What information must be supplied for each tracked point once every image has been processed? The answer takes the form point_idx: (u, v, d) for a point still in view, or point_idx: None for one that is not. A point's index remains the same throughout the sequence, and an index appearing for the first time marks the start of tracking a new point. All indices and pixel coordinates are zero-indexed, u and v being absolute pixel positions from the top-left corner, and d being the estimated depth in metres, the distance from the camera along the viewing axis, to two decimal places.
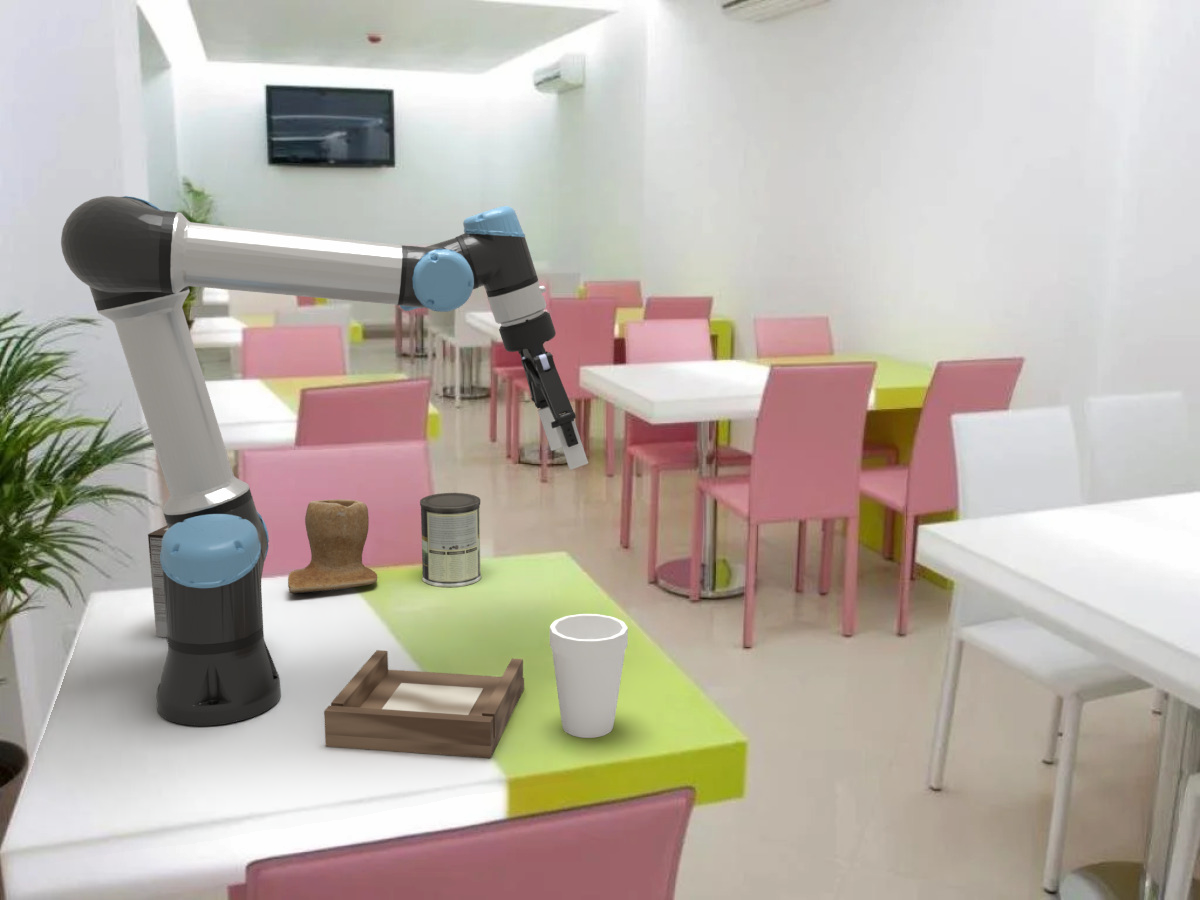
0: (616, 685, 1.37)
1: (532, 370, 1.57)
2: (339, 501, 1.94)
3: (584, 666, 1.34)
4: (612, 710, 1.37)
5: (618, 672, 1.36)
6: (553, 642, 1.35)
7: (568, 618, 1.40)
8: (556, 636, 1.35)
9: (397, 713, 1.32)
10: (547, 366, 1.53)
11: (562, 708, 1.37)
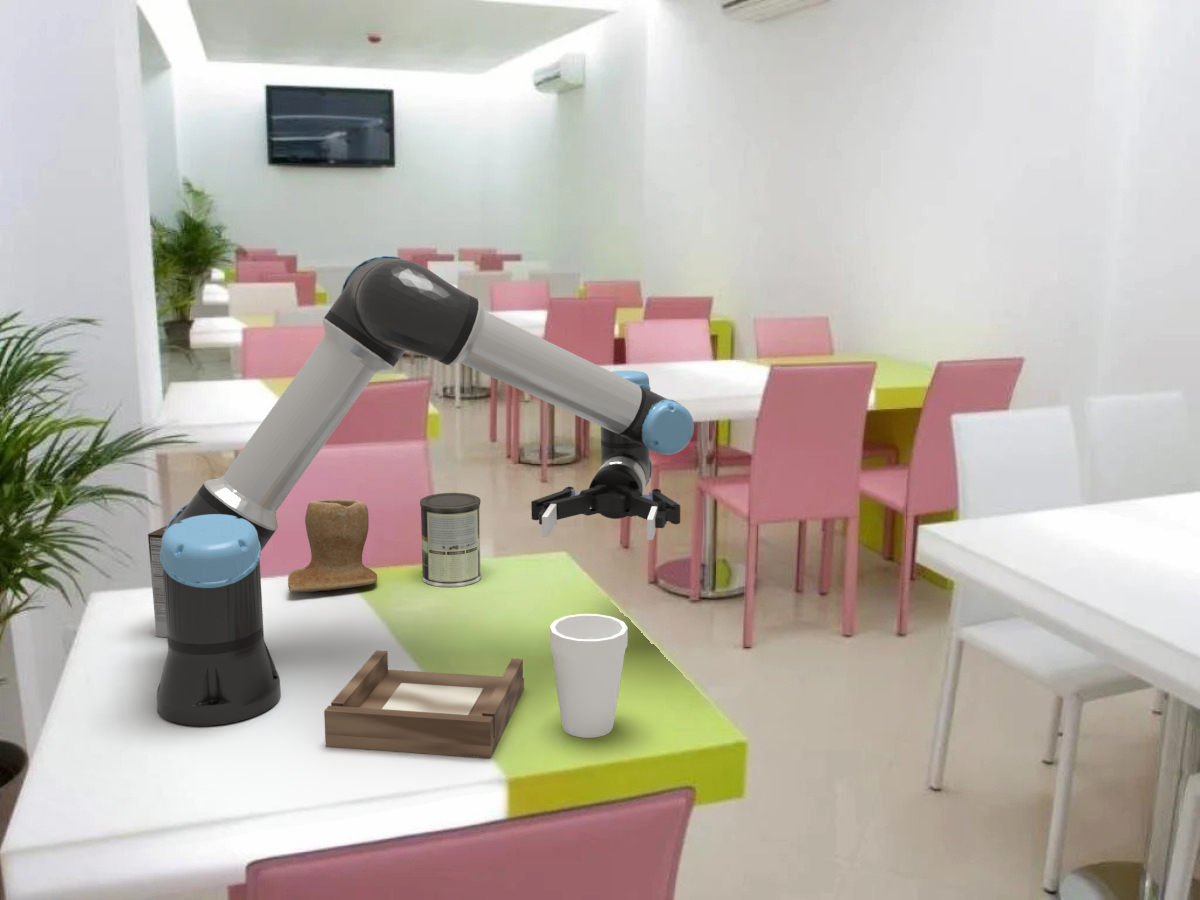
0: (616, 685, 1.37)
1: None
2: (339, 501, 1.94)
3: (584, 666, 1.34)
4: (612, 710, 1.37)
5: (618, 672, 1.36)
6: (553, 642, 1.35)
7: (568, 618, 1.40)
8: (556, 636, 1.35)
9: (397, 713, 1.32)
10: None
11: (562, 708, 1.37)
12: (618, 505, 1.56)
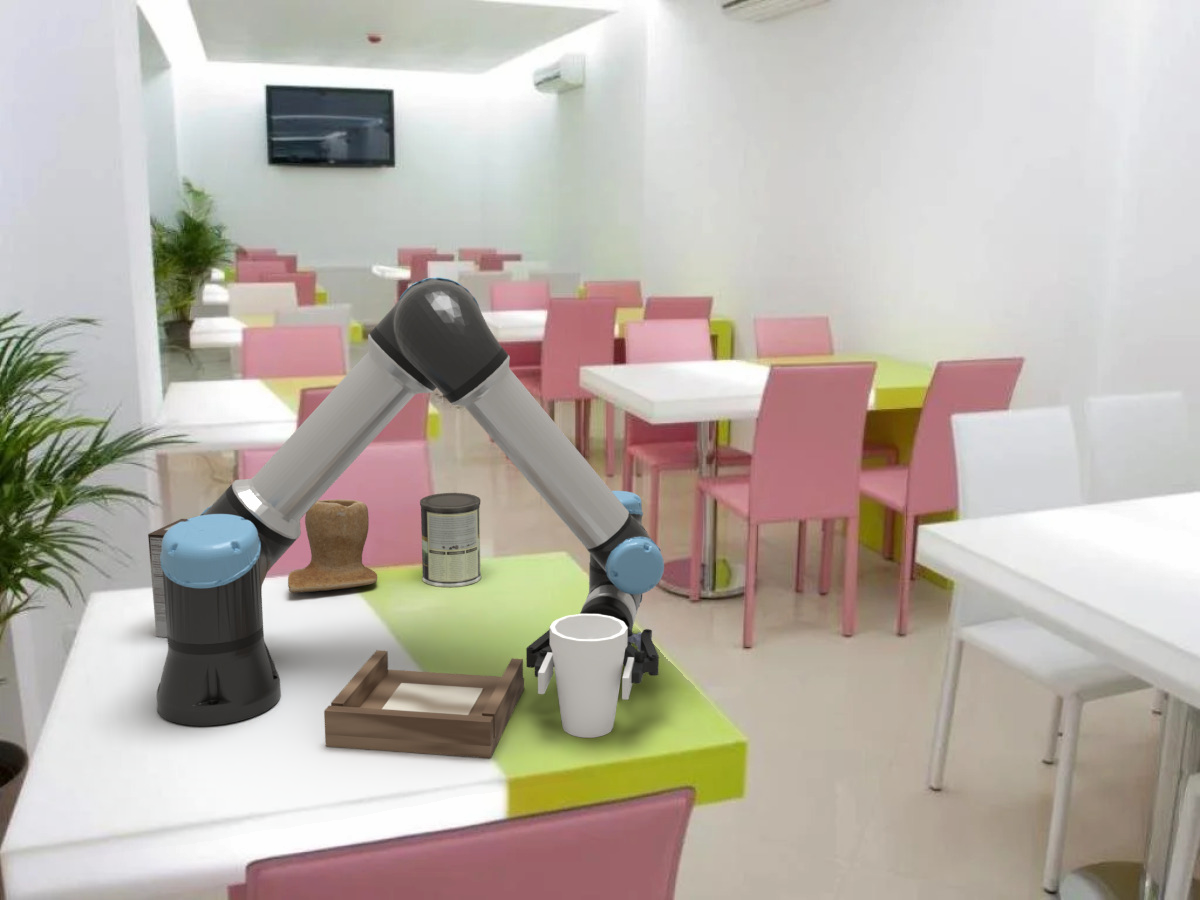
0: (616, 685, 1.37)
1: None
2: (339, 501, 1.94)
3: (584, 666, 1.34)
4: (612, 710, 1.37)
5: (618, 672, 1.36)
6: (553, 642, 1.35)
7: (567, 617, 1.40)
8: (556, 636, 1.35)
9: (397, 713, 1.32)
10: None
11: (562, 708, 1.37)
12: None
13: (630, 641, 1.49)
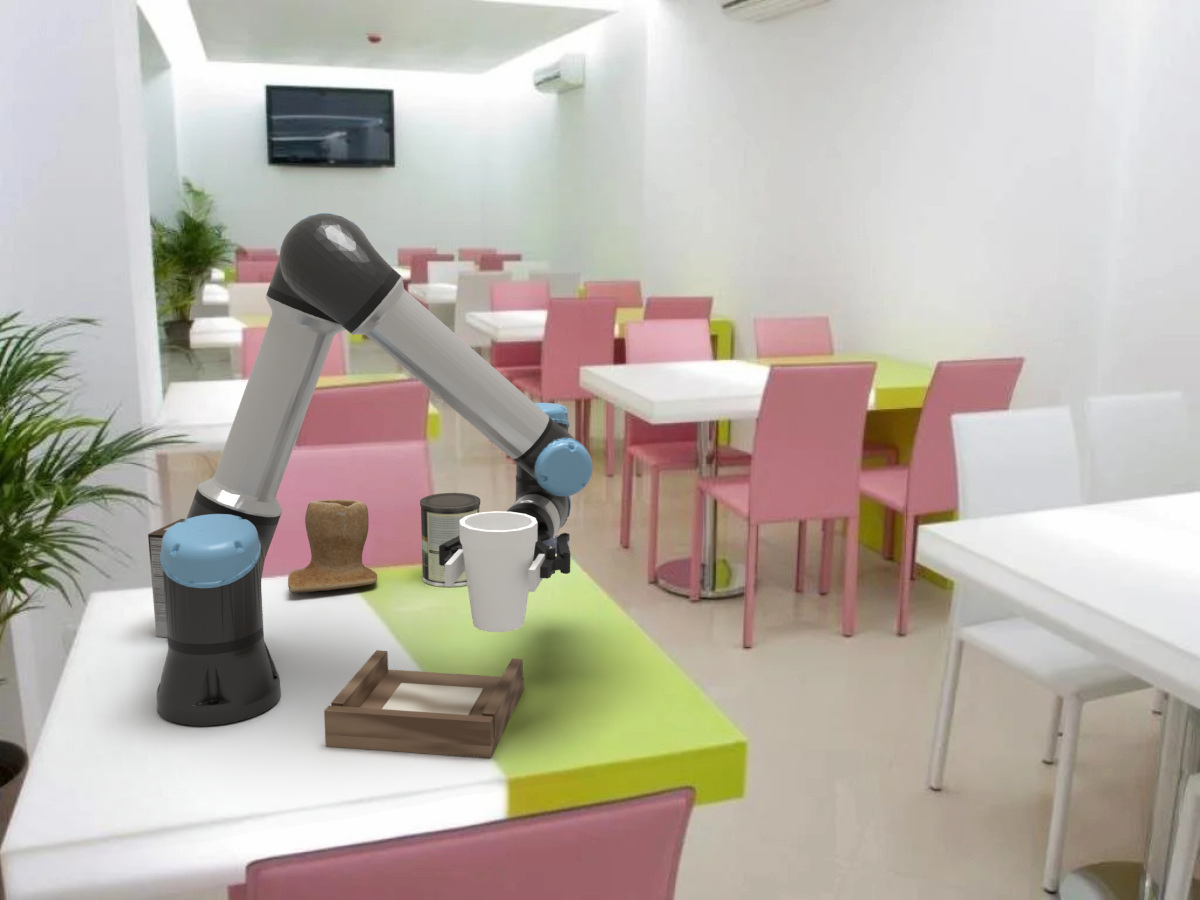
0: (525, 579, 1.36)
1: None
2: (339, 501, 1.94)
3: (491, 557, 1.33)
4: (521, 605, 1.37)
5: (527, 566, 1.36)
6: (461, 534, 1.35)
7: (480, 514, 1.40)
8: (464, 528, 1.34)
9: (397, 713, 1.32)
10: None
11: (471, 602, 1.37)
12: None
13: (548, 545, 1.48)
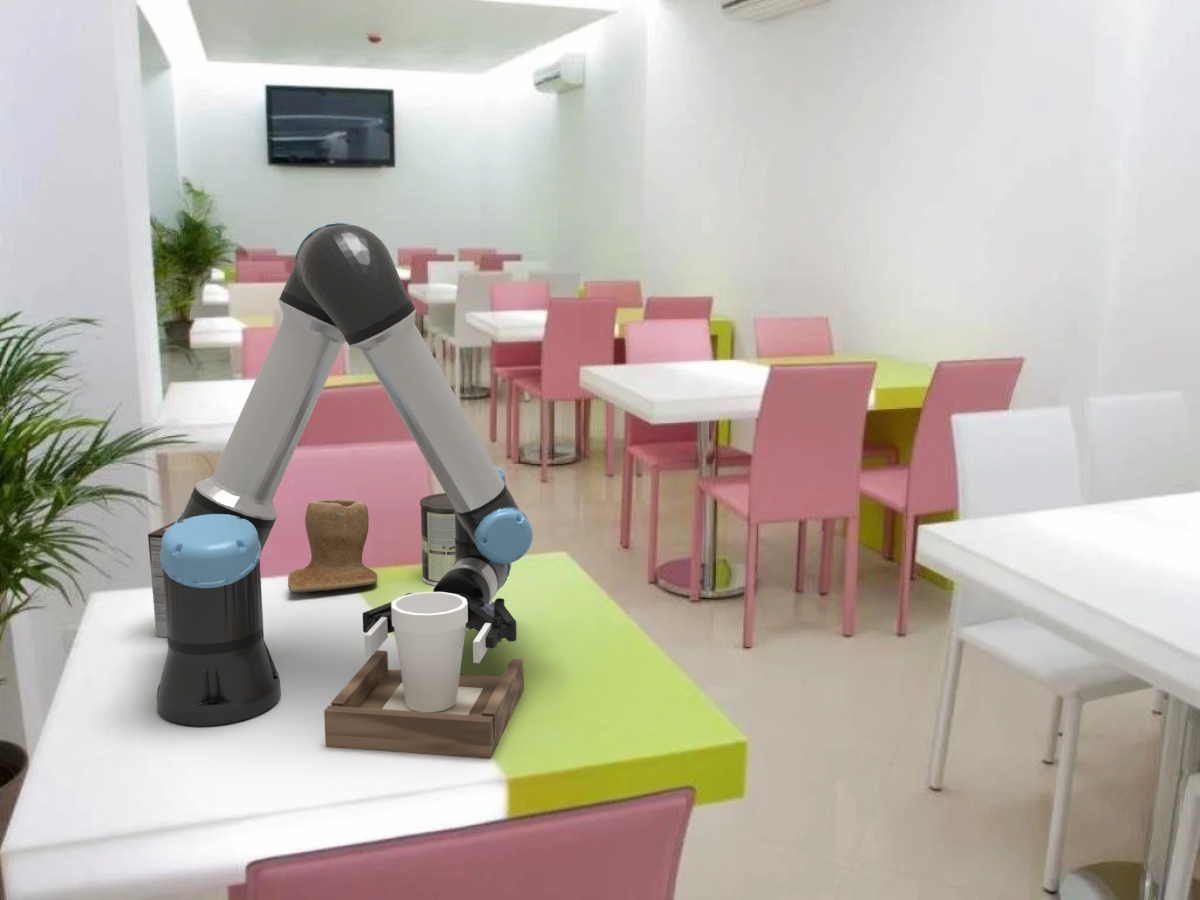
0: (455, 660, 1.39)
1: None
2: (339, 501, 1.94)
3: (421, 640, 1.36)
4: (452, 685, 1.40)
5: (457, 647, 1.39)
6: (392, 617, 1.38)
7: (412, 595, 1.43)
8: (394, 611, 1.37)
9: (397, 713, 1.32)
10: None
11: (403, 683, 1.40)
12: None
13: (483, 611, 1.51)
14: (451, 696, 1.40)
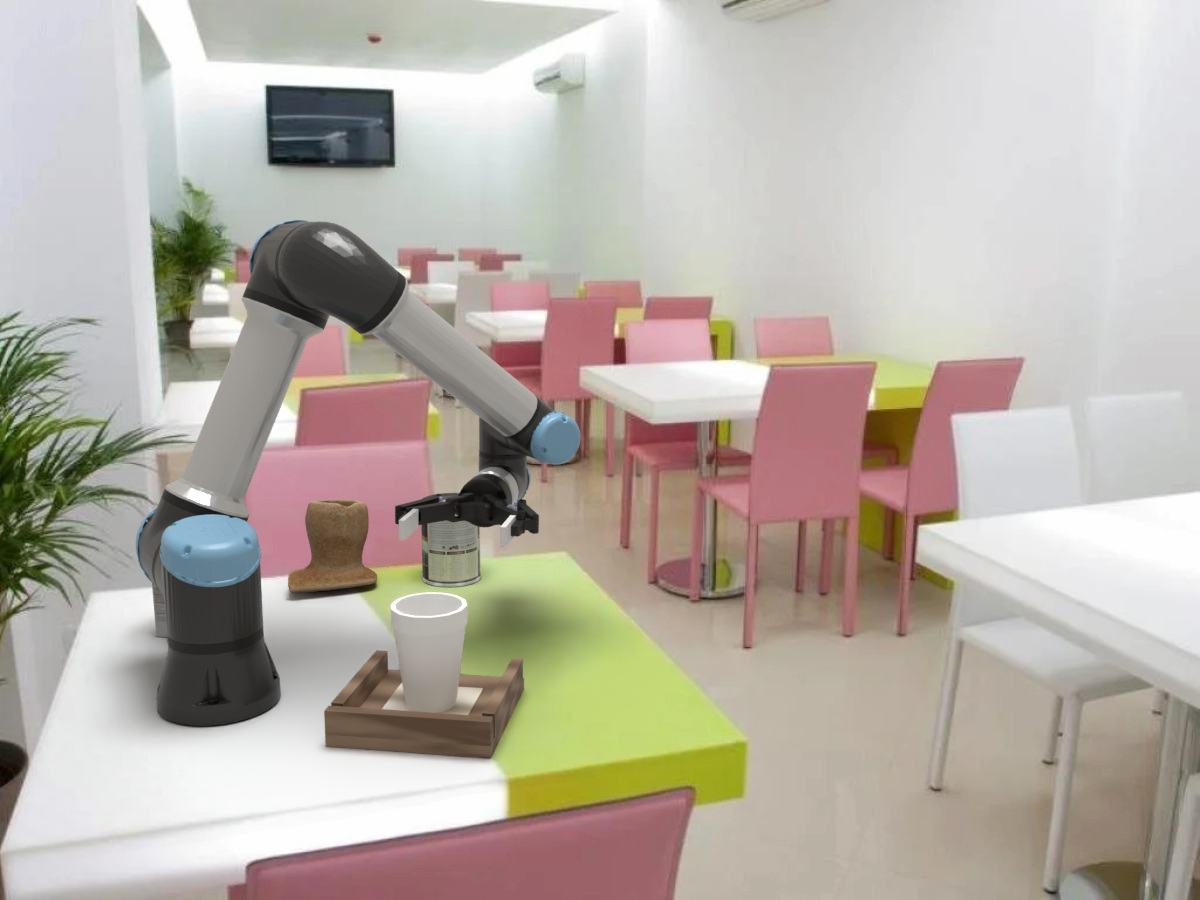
0: (455, 661, 1.39)
1: None
2: (339, 501, 1.94)
3: (420, 642, 1.36)
4: (452, 686, 1.40)
5: (457, 649, 1.38)
6: (392, 619, 1.37)
7: (411, 596, 1.42)
8: (394, 613, 1.37)
9: (397, 713, 1.32)
10: None
11: (403, 684, 1.40)
12: (482, 513, 1.59)
13: None
14: (451, 697, 1.40)
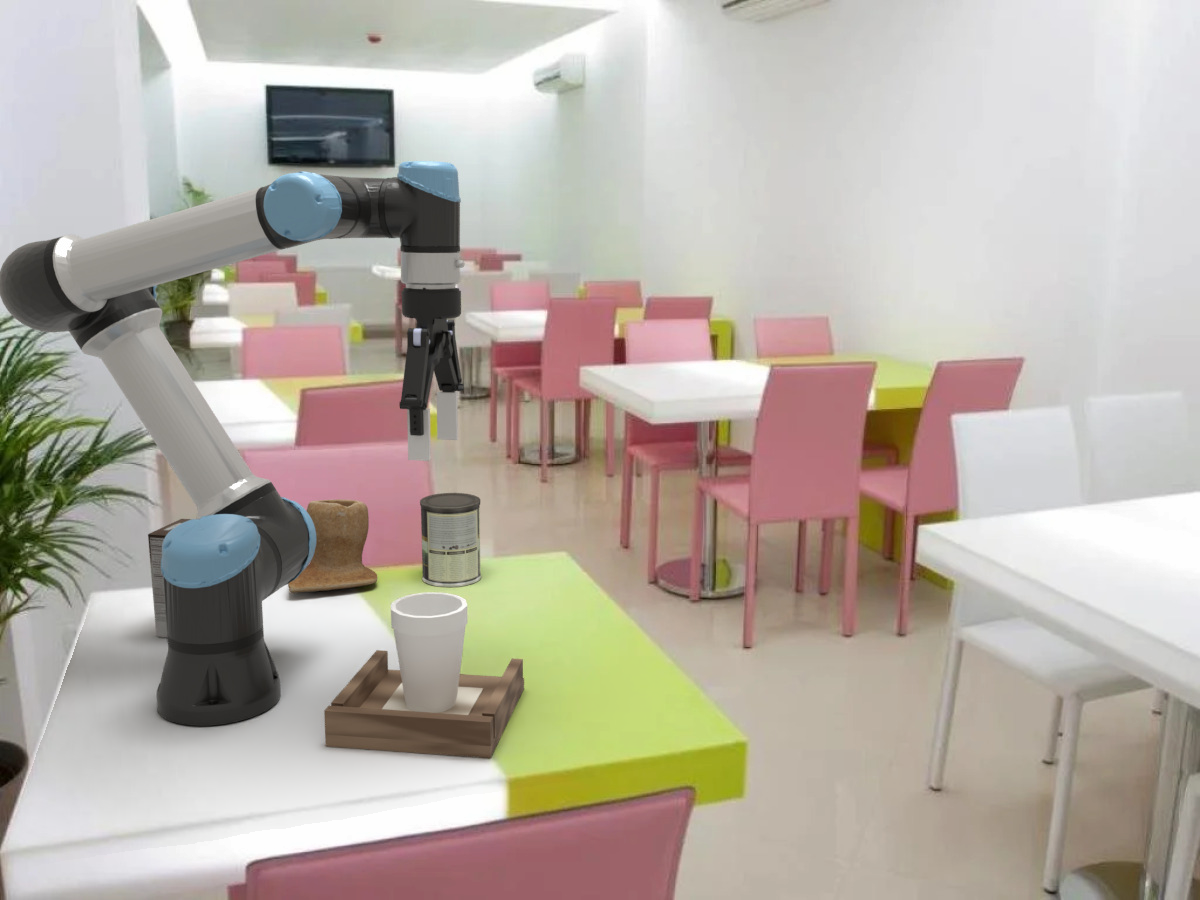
0: (455, 661, 1.39)
1: None
2: (339, 501, 1.94)
3: (420, 642, 1.36)
4: (452, 686, 1.40)
5: (457, 649, 1.38)
6: (392, 619, 1.37)
7: (412, 596, 1.42)
8: (394, 613, 1.37)
9: (397, 713, 1.32)
10: (418, 342, 1.38)
11: (403, 684, 1.40)
12: None
13: None
14: (451, 697, 1.40)
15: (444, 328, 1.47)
